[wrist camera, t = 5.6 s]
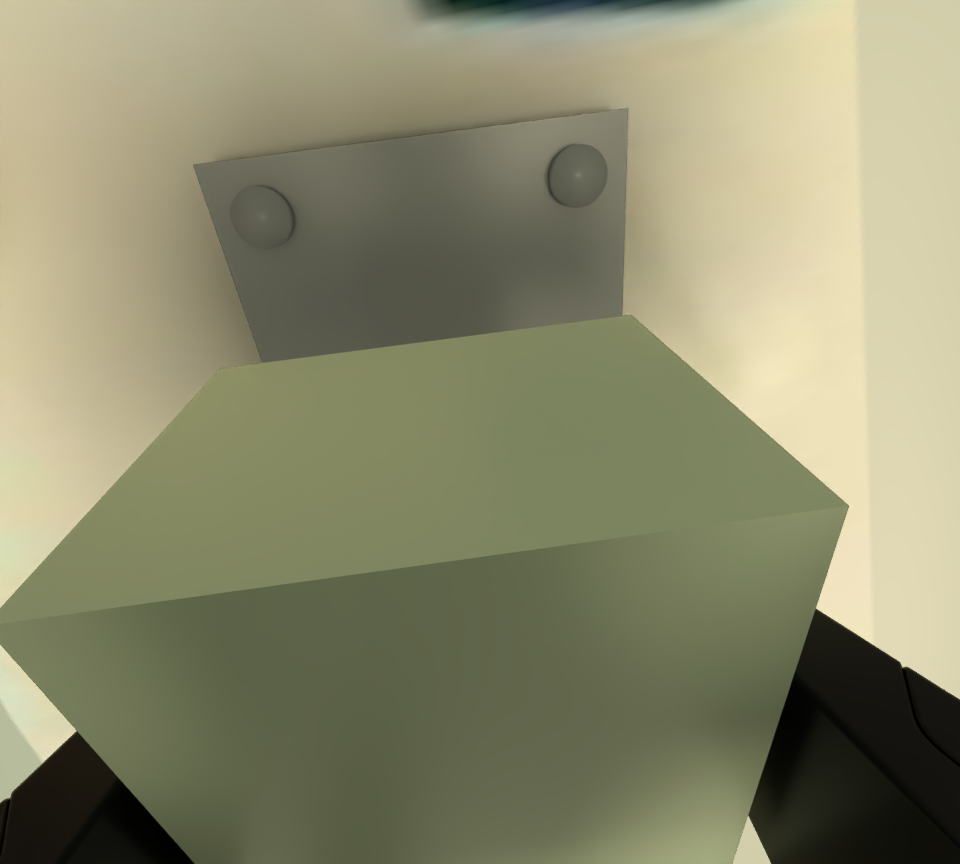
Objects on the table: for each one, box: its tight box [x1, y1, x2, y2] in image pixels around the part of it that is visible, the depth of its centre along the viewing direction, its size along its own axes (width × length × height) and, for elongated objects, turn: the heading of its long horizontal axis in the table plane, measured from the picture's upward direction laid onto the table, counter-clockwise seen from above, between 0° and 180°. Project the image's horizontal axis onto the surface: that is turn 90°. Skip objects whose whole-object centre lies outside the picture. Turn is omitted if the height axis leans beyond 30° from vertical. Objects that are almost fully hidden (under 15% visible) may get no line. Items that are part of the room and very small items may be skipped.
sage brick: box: [0, 315, 849, 864], centre depth 7 cm, size 6×6×4 cm
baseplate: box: [193, 108, 628, 363], centre depth 17 cm, size 12×12×2 cm
